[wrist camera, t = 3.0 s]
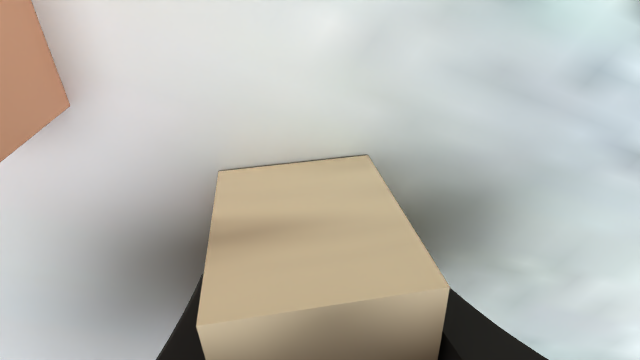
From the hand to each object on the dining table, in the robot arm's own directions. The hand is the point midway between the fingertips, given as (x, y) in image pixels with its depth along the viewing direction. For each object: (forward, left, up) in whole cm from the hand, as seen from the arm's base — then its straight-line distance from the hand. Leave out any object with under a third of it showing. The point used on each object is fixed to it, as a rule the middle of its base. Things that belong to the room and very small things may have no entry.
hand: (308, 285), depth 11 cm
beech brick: (0, 0, -2) cm, 2 cm away
